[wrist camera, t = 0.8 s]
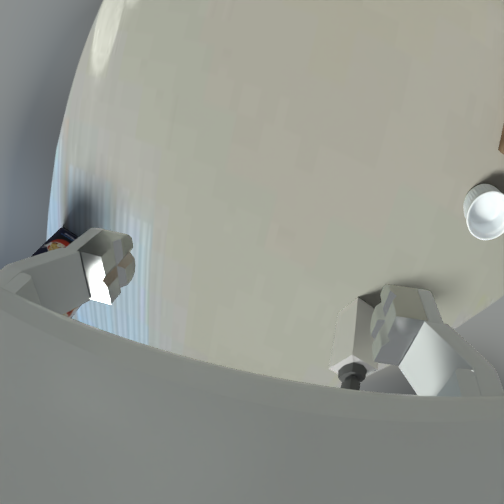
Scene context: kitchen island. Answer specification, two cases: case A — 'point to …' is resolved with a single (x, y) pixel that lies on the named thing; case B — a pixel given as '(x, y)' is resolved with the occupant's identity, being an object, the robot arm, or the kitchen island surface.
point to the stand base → (502, 142)
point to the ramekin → (484, 211)
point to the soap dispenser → (353, 345)
